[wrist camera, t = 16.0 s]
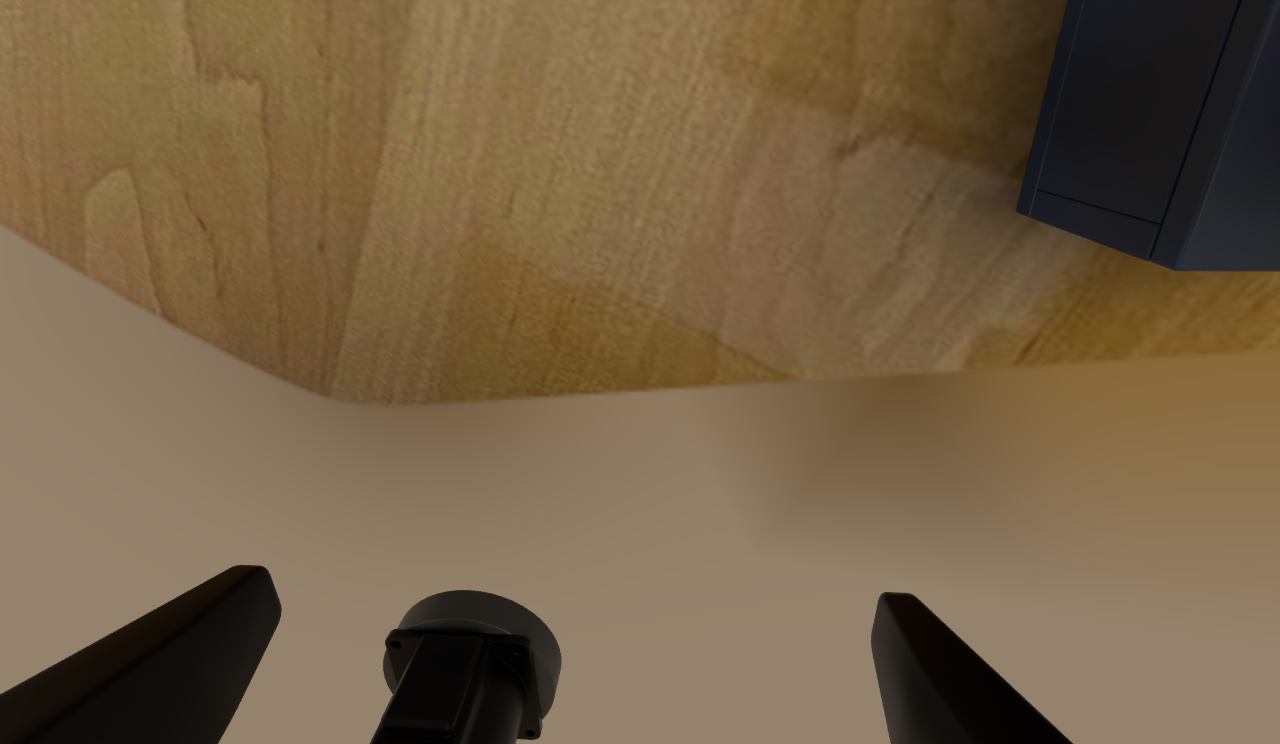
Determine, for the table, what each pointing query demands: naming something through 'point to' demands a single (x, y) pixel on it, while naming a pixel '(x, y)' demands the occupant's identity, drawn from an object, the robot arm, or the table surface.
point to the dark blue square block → (1122, 116)
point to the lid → (1233, 159)
